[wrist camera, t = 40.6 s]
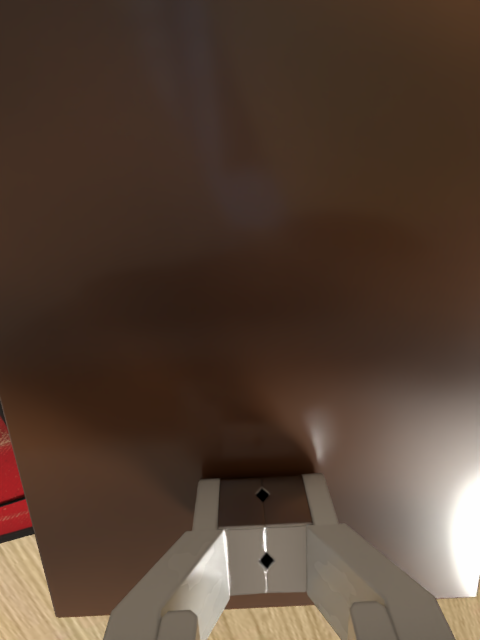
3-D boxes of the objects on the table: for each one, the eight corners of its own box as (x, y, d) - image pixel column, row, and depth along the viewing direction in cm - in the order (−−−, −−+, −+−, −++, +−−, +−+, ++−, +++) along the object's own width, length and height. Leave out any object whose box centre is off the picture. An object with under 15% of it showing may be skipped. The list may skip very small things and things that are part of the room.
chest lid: (462, 572, 12) (477, 598, 11) (66, 592, 12) (55, 619, 11) (561, -103, 7) (599, -137, 7) (-92, -64, 7) (-130, -93, 7)
